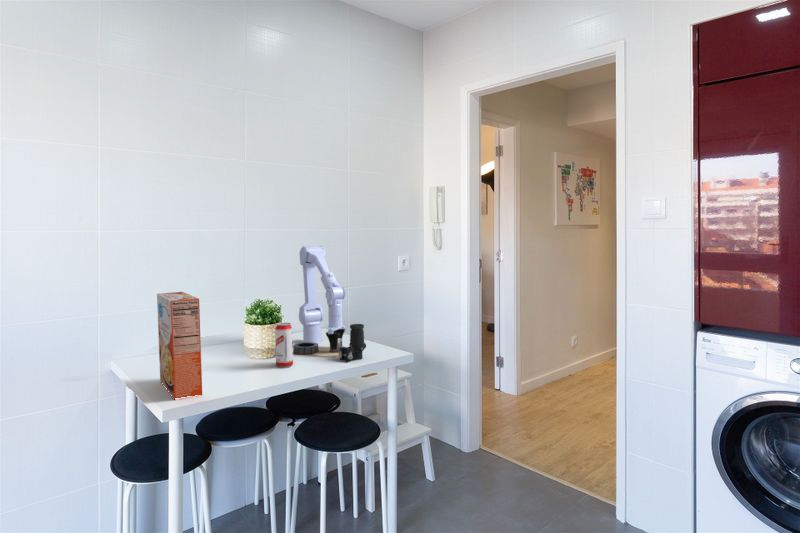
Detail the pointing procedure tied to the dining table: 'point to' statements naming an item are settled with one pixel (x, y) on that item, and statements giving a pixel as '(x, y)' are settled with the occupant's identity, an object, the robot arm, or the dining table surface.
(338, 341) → the grey domed cylinder
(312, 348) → the segmented dark ring
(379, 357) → the dining table surface
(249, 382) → the dining table surface
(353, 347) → the scope
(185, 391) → the cereal box
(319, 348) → the tan wooden board
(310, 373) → the dining table surface
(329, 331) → the robot arm
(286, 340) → the beer can
